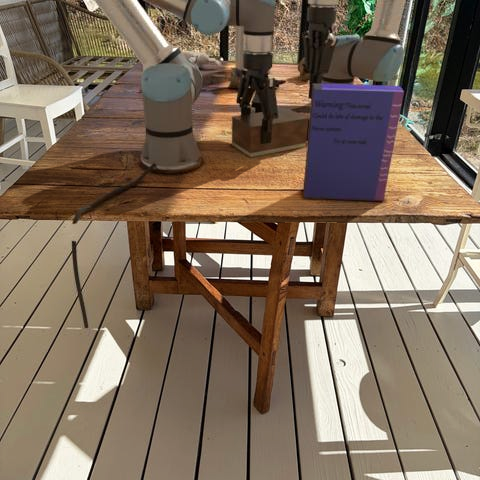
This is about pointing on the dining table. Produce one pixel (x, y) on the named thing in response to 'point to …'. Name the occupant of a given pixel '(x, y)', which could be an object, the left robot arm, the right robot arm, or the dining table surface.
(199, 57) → the toy
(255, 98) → the figurine character
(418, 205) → the dining table surface
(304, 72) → the anatomical model
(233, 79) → the figurine
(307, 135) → the drawer
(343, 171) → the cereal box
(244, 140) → the wooden chest box
